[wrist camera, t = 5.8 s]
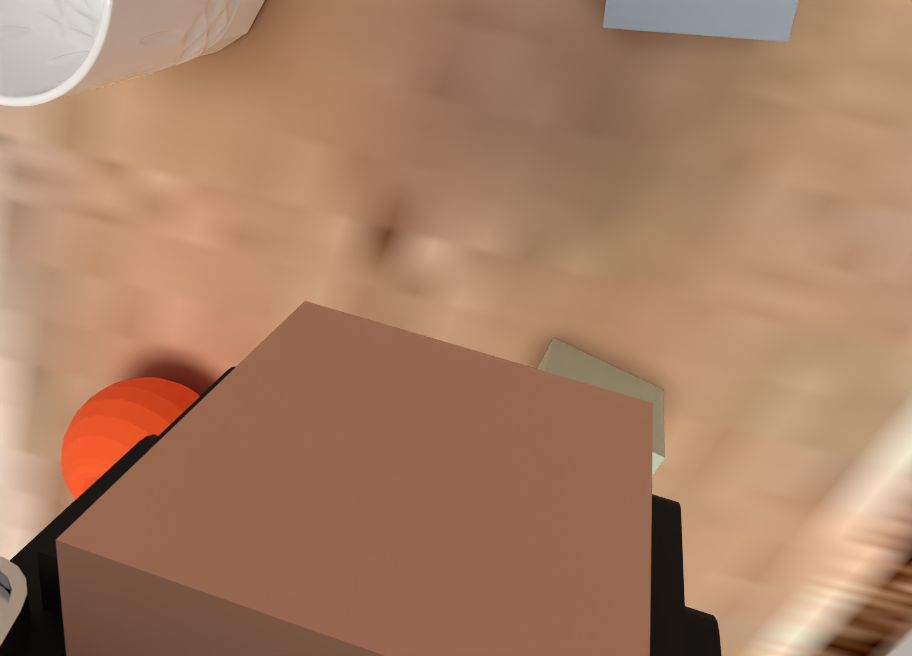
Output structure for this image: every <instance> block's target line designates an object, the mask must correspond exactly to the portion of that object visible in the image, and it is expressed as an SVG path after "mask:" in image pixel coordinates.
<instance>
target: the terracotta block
mask: <svg viewBox="0 0 912 656" xmlns="http://www.w3.org/2000/svg"><path fill="white" fill-rule="evenodd" d="M652 446H653V403H651V402H648V401H644V400H641V399H637V398H634V397H631V396H627V395H624V394H620V393H617V392H614V391H610V390H607V389H603V388H600V387H597V386H593V385H590V384H586V383H583V382H579V381H576V380H573V379H569V378H566V377H562V376H559V375H556V374H552V373H549V372H545V371H542V370H539V369H535V368H532V367H528V366H525V365H521V364H518V363H515V362H511V361H508V360H504V359H501V358H498V357H494V356H491V355H487V354H484V353H481V352H477V351H474V350H470V349H467V348H463V347H460V346H457V345H453V344H450V343H446V342H443V341H440V340H436V339H433V338H429V337H426V336H423V335H419V334H416V333H412V332H409V331H405V330H402V329H399V328H395V327H392V326H388V325H385V324H382V323H378V322H375V321H371V320H368V319H365V318H361V317H358V316H354V315H351V314H347V313H344V312H341V311H337V310H334V309H330V308H327V307H324V306H320V305H317V304H313V303H310V302H307V301H304V302H303V303H302V304H301V305H300V306H299V307H298V308H297V309H296V310H295V311H294V312H293V313H292V314H291V315H290V316H289V317H288V318H287V319H286V320H285V321H284V322H283V323H281V324H280V325H279V326H278V327H277V328H276V329H275V330H274V331H273V332H272V333H271V334H270V335H269V336H268V337H267V338H266V339H265V340H264V341H263V342H262V343H261V344H260V345H259V346H257V347H256V348H255V349H254V350H253V351H252V352H251V353H250V354H249V355H248V356H247V357H246V358H245V359H244V360H243V361H242V362H241V363H240V364H239V365H238V366H237V367H236V368H235V369H233V370H232V371H231V372H230V373H229V374H228V375H227V376H226V377H225V378H224V379H223V380H222V381H221V382H220V383H219V384H218V385H217V386H216V387H215V388H214V389H213V390H212V391H211V392H209V393H208V394H207V395H206V396H205V397H204V398H203V399H202V400H201V401H200V402H199V403H198V404H197V405H196V406H195V407H194V408H193V409H192V410H191V411H190V412H189V413H188V414H187V415H185V416H184V417H183V418H182V419H181V420H180V421H179V422H178V423H177V424H176V425H175V426H174V427H173V428H172V429H171V430H170V431H169V432H168V433H167V434H166V435H165V436H164V437H163V438H161V439H160V440H159V441H158V442H157V443H156V444H155V445H154V446H153V447H152V448H151V449H150V450H149V451H148V452H147V453H146V454H145V455H144V456H143V457H142V458H141V459H140V460H139V461H137V462H136V463H135V464H134V465H133V466H132V467H131V468H130V469H129V470H128V471H127V472H126V473H125V474H124V475H123V476H122V477H121V478H120V479H119V480H118V481H117V482H116V483H115V484H113V485H112V486H111V487H110V488H109V489H108V490H107V491H106V492H105V493H104V494H103V495H102V496H101V497H100V498H99V499H98V500H97V501H96V502H95V503H94V504H93V505H92V506H91V507H89V508H88V509H87V510H86V511H85V512H84V513H83V514H82V515H81V516H80V517H79V518H78V519H77V520H76V521H75V522H74V523H73V524H72V525H71V526H70V527H69V528H68V529H67V530H65V531H64V532H63V533H62V534H61V535H60V536H59V537H58V538H57V539H56V549H57V560H58V571H59V582H60V593H61V604H62V615H63V626H64V636H65V647H66V656H650V599H651V523H652Z"/></svg>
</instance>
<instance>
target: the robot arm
mask: <svg viewBox="0 0 912 656" xmlns="http://www.w3.org/2000/svg"><path fill="white" fill-rule="evenodd" d="M235 368H236V367H231V368H230V369H229V370H227V371H226V372H225V373H224V374H223V375H222V376H221V377H220V378H219V379H218V380H217V381H216V382H215V383H214V384H213V385H212V386H210V387H209V388H208V389H207V390H206V391H205V392H204V393H203V394H202V395H201V396H200V397H199V398H198V399H197V400H196V401H195V402H194V403H193V404H191V405H190V406H189V407H188V408H187V409H186V410H185V411H184V412H183V413H182V414H181V415H180V416H179V417H178V418H177V419H176V420H175V421H174V422H172V423H171V424H170V425H169V426H168V427H167V428H166V429H165V430H164V431H163V432H162V433H161V434H160V435H159V436H158V435H155V434H153V435H149V436H146V437H145V438H143V439H142V440H140V441H139V442H138V443H137V444H136V445H135V446H133V447H132V448H131V449H130V450H129V451H128V452H127V453H126V454H125V455H124V456H123V457H122V458H120V459H119V460H118V461H117V462H116V463H115V464H114V465H113V466H112V467H111V468H110V469H109V470H107V471H106V472H105V473H104V474H103V475H102V476H101V477H100V478H99V479H98V480H97V481H96V482H94V483H93V484H92V485H91V486H90V487H89V488H88V489H87V490H86V491H85V492H84V493H82V494H81V495H80V496H79V497H78V498H77V499H76V500H75V501H74V502H73V503H72V504H71V505H69V506H68V507H67V508H66V509H65V510H64V511H63V512H62V513H61V514H60V515H59V516H58V517H56V518H55V519H54V520H53V521H52V522H51V523H50V524H49V525H48V526H47V527H46V528H45V529H43V530H42V531H41V532H40V533H39V534H38V535H37V536H36V537H35V538H34V539H33V540H32V541H30V542H29V543H28V544H27V545H26V546H25V547H24V548H23V549H22V550H21V551H20V552H19V553H17V554H16V555H15V556H14V557H13V558H12V559H11V560H10V561H9V560H7V559H5V558H3V557H0V656H66V647H65V636H64V626H63V615H62V604H61V593H60V582H59V571H58V560H57V549H56V539H57V538H58V537H59V536H60V535H61V534H62V533H63V532H64V531H65V530H67V529H68V528H69V527H70V526H71V525H72V524H73V523H74V522H75V521H76V520H77V519H78V518H79V517H80V516H81V515H82V514H83V513H84V512H85V511H86V510H87V509H88V508H89V507H91V506H92V505H93V504H94V503H95V502H96V501H97V500H98V499H99V498H100V497H101V496H102V495H103V494H104V493H105V492H106V491H107V490H108V489H109V488H110V487H111V486H112V485H113V484H115V483H116V482H117V481H118V480H119V479H120V478H121V477H122V476H123V475H124V474H125V473H126V472H127V471H128V470H129V469H130V468H131V467H132V466H133V465H134V464H135V463H136V462H137V461H139V460H140V459H141V458H142V457H143V456H144V455H145V454H146V453H147V452H148V451H149V450H150V449H151V448H152V447H153V446H154V445H155V444H156V443H157V442H158V441H159V440H160V439H161V438H163V437H164V436H165V435H166V434H167V433H168V432H169V431H170V430H171V429H172V428H173V427H174V426H175V425H176V424H177V423H178V422H179V421H180V420H181V419H182V418H183V417H184V416H185V415H187V414H188V413H189V412H190V411H191V410H192V409H193V408H194V407H195V406H196V405H197V404H198V403H199V402H200V401H201V400H202V399H203V398H204V397H205V396H206V395H207V394H208V393H209V392H211V391H212V390H213V389H214V388H215V387H216V386H217V385H218V384H219V383H220V382H221V381H222V380H223V379H224V378H225V377H226V376H227V375H228V374H229V373H230V372H231V371H232V370H233V369H235ZM650 656H721V646H720V635H719V628H718V623H717V620H716V618H715V617H714V616H713V615H710V614H707V613H704V612H701V611H698V610H695V609H692V608H689V607H686V606H685V602H684V577H683V551H682V526H681V507H680V504H679V502H675V501H672V500H669V499H666V498H662V497H659V496H656V495H653V494H652V523H651V599H650Z"/></svg>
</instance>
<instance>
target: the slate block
mask: <svg viewBox="0 0 912 656" xmlns="http://www.w3.org/2000/svg"><path fill="white" fill-rule="evenodd" d="M797 4H798V0H606V5H605V13H604V20H603V28H613V29H626V30H639V31H652V32H665V33H678V34H691V35H704V36H717V37H730V38H743V39H756V40H770V41H783V42H789V38H790V33H791V29H792V25H793V21H794V16H795V12H796V8H797Z"/></svg>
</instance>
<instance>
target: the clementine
mask: <svg viewBox="0 0 912 656" xmlns="http://www.w3.org/2000/svg"><path fill="white" fill-rule="evenodd" d="M199 397H200V396H199V395H198V394H197V393H196V392H195V391H193V390H192V389H190V388H188V387H186V386H184V385H182V384H180V383H176V382H172V381H169V380H165V379H162V378H156V377H142V378H135V379H129V380H125V381H121V382H118V383H115V384H113V385H111V386H109V387H107V388H105V389H103V390H101V391H100V392H98V393H97V394H96V395H94V396H93V397H91V398H90V399H89V400H88V401H87V402H86V403H85V404H84V405H83V406H82V407H81V408H80V409H79V410H78V412H77V413H76V415H75V416H74V418H73V420H72V421H71V423H70V425H69V427H68V430H67V432H66V434H65V436H64V441H63V446H62V462H61V463H62V472H63V476H64V479H65V482H66V484H67V487H68V488H69V490H70V492H71V493H72V495H73V497H74V498H75V500H76V499H77V498H78V497H79V496H80V495H81V494H82V493H84V492H85V491H86V490H87V489H88V488H89V487H90V486H91V485H92V484H93V483H94V482H96V481H97V480H98V479H99V478H100V477H101V476H102V475H103V474H104V473H105V472H106V471H107V470H109V469H110V468H111V467H112V466H113V465H114V464H115V463H116V462H117V461H118V460H119V459H120V458H122V457H123V456H124V455H125V454H126V453H127V452H128V451H129V450H130V449H131V448H132V447H133V446H135V445H136V444H137V443H138V442H139V441H140V440H142V439H143V438H145V437H146V436H149V435H153V434H155V435H158V436H159V435H160V434H161V433H162V432H163V431H164V430H165V429H166V428H167V427H168V426H169V425H170V424H171V423H172V422H174V421H175V420H176V419H177V418H178V417H179V416H180V415H181V414H182V413H183V412H184V411H185V410H186V409H187V408H188V407H189V406H190V405H191V404H193V403H194V402H195V401H196V400H197V399H198V398H199Z"/></svg>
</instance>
